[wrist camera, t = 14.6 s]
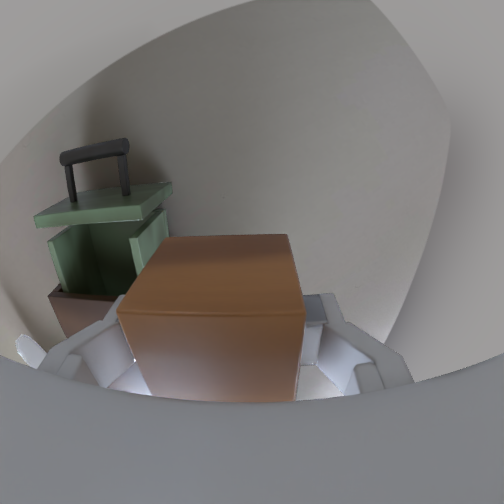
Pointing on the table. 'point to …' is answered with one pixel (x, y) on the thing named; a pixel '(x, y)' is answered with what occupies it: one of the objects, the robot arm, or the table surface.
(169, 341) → the block
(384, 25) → the table surface
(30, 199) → the table surface
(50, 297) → the cabinet
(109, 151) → the drawer
